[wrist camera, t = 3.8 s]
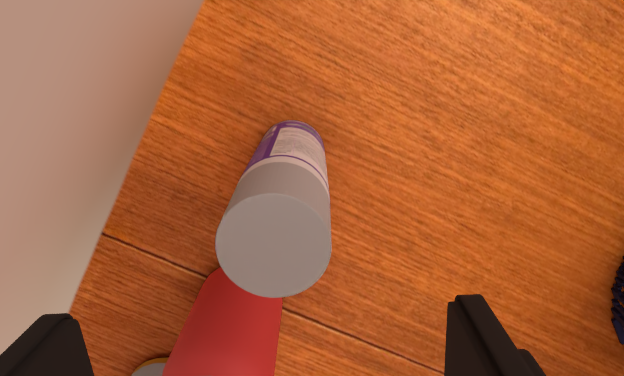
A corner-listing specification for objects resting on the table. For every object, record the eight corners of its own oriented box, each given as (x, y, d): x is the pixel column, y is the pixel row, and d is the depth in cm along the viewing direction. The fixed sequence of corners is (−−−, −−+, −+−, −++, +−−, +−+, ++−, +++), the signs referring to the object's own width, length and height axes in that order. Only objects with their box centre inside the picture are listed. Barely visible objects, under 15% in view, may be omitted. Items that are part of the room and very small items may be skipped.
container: (275, 191, 31) (242, 315, 17) (249, 133, 30) (189, 215, 15) (334, 169, 30) (352, 279, 16) (310, 109, 29) (307, 171, 15)
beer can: (201, 324, 35) (146, 460, 23) (203, 254, 33) (144, 366, 21) (279, 332, 35) (263, 469, 24) (286, 263, 33) (272, 378, 21)
